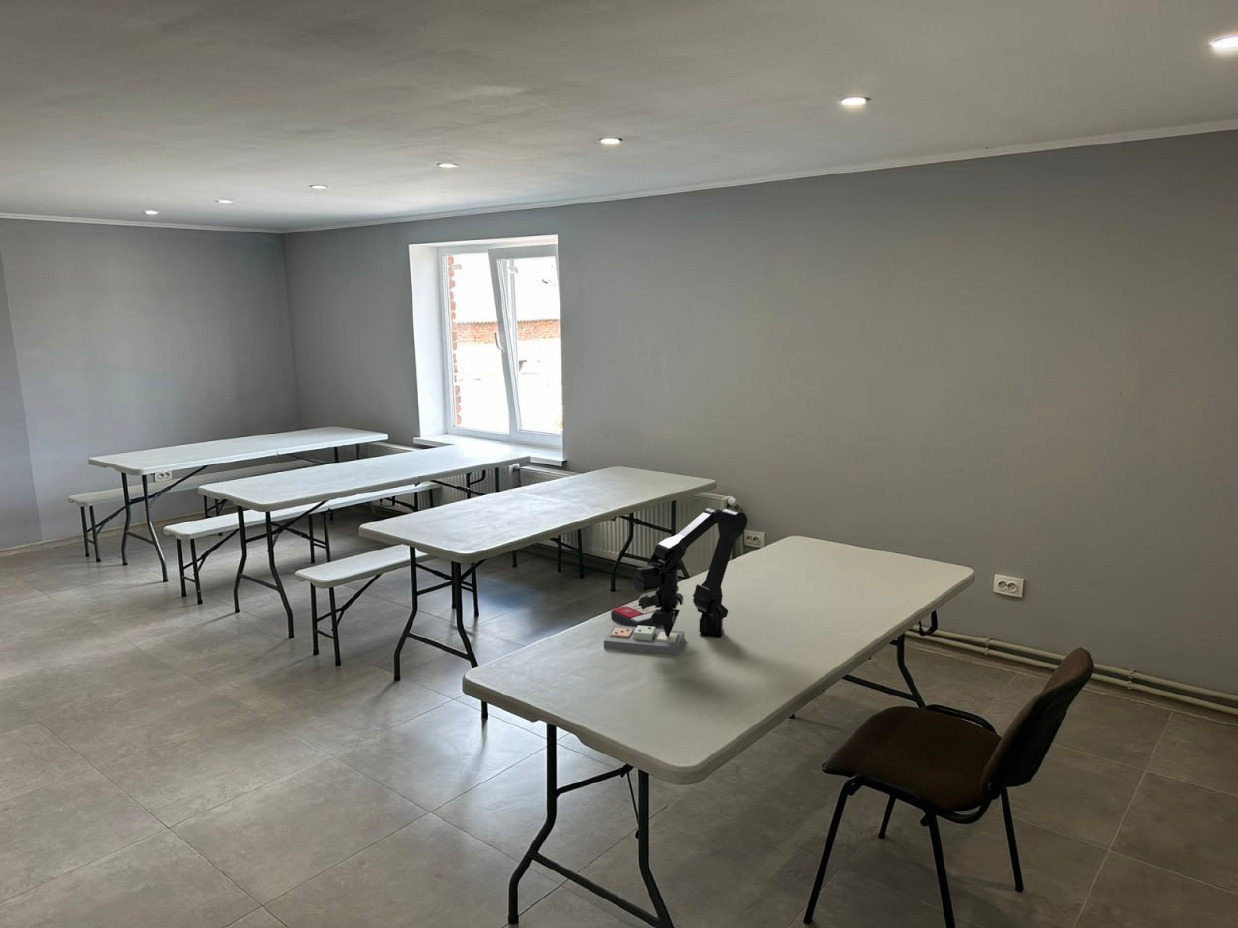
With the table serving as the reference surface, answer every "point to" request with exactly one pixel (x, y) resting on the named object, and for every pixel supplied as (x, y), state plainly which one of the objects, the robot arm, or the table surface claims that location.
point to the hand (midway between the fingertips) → (667, 635)
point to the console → (644, 642)
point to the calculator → (634, 616)
